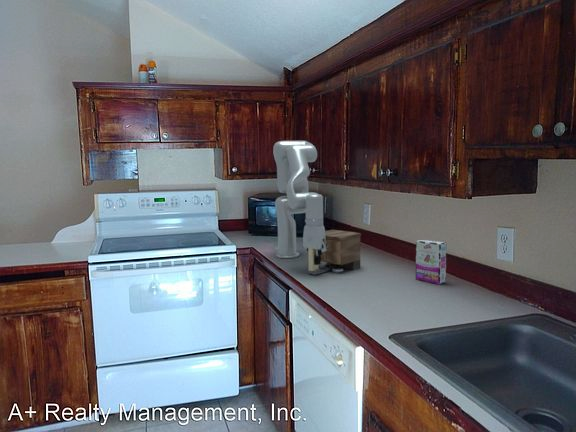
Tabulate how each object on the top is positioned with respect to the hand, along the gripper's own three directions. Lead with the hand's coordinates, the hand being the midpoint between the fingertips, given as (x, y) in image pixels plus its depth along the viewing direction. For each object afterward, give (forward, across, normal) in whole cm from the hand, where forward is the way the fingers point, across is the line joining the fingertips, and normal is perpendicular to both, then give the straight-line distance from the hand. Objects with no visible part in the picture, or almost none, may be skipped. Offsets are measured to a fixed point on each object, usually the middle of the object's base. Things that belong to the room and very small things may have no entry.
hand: (315, 263), depth 189 cm
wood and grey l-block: (+4, 0, +5) cm, 7 cm away
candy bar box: (+5, +43, +22) cm, 48 cm away
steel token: (+5, +4, +10) cm, 12 cm away
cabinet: (+5, +1, +14) cm, 15 cm away
